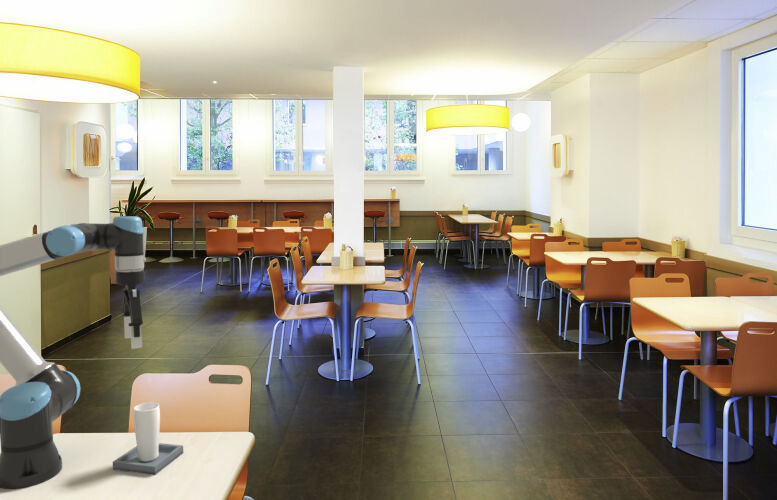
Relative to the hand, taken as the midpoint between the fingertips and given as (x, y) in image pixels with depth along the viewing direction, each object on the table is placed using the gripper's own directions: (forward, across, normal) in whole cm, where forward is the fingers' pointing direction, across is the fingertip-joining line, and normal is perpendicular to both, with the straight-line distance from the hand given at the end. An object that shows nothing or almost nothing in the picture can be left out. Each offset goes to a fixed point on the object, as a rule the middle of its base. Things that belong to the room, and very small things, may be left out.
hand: (133, 342), depth 160 cm
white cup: (+31, -10, -1) cm, 33 cm away
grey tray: (+32, -11, -1) cm, 33 cm away
